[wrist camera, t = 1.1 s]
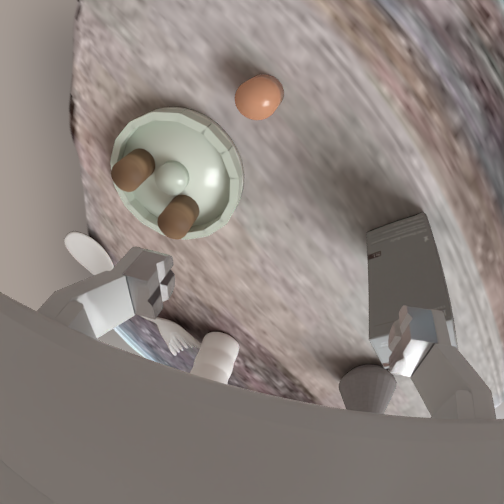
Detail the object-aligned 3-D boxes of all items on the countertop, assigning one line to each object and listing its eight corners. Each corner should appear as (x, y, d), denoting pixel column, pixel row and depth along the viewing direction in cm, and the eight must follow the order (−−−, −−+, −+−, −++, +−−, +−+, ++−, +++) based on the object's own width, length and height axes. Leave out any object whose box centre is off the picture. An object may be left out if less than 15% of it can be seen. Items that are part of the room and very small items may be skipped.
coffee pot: (382, 352, 51) (381, 429, 40) (404, 378, 55) (404, 446, 44) (289, 378, 63) (275, 443, 52) (318, 399, 67) (308, 458, 56)
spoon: (179, 344, 65) (173, 357, 62) (65, 237, 52) (54, 249, 50) (208, 336, 60) (202, 351, 57) (83, 216, 47) (70, 228, 45)
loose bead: (246, 72, 29) (236, 77, 26) (285, 76, 28) (279, 82, 25) (244, 107, 31) (233, 117, 28) (281, 112, 31) (275, 122, 28)
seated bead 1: (127, 147, 36) (109, 160, 33) (154, 149, 36) (137, 163, 33) (130, 175, 39) (113, 189, 36) (156, 178, 38) (141, 194, 35)
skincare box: (424, 209, 33) (457, 312, 22) (437, 253, 37) (462, 355, 25) (361, 231, 38) (364, 337, 26) (379, 272, 41) (384, 375, 29)
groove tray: (115, 105, 34) (103, 111, 32) (248, 112, 32) (242, 118, 30) (130, 216, 45) (121, 226, 43) (240, 238, 43) (235, 250, 41)
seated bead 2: (170, 192, 39) (155, 209, 36) (199, 197, 39) (186, 214, 36) (172, 218, 42) (159, 235, 39) (199, 223, 41) (188, 242, 38)
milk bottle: (224, 354, 63) (184, 467, 44) (197, 335, 60) (150, 451, 42) (247, 346, 59) (208, 470, 40) (220, 325, 56) (171, 453, 38)
